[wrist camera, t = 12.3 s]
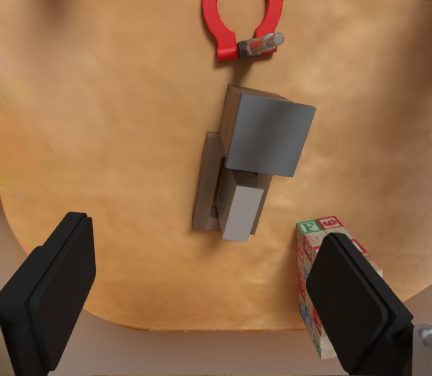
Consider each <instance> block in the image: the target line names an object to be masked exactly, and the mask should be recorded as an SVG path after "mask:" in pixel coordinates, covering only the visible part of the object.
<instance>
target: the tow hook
mask: <svg viewBox="0 0 432 376" xmlns="http://www.w3.org/2000/svg"><path fill="white" fill-rule="evenodd" d="M282 4H283V0H267V10H266V14H265V17H264V19H263V21H262V22H261V24H260V25H259V26H258V27H257V28H256V30H255V38H254V39H249V40H247V41H241V42H238V43H237V44H236V38H235V34H234V32H232V31H230V30H229V29H228V28H226V27H225V26H224V24H223V23H222V21H221V20H220V17H219V15H218V11H217V0H202V10H203V16H204V20H205V22H206V25H207V27H208V29H209V31H210V32H211V34H212V35H213V36H214V38H215V39H216V40H217V49H216V52H217V59H218V61H224V60H230V59H236V58H238V59H242V58H248V57H254V56H259V55H261V54H267V53H273V52H276V50H277V45H281V44H282V43H283V41H284V36H283V34H282V33H276V34H274V29H275V27H276V26H277V24H278V21H279V18H280V15H281V11H282Z"/></svg>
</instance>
